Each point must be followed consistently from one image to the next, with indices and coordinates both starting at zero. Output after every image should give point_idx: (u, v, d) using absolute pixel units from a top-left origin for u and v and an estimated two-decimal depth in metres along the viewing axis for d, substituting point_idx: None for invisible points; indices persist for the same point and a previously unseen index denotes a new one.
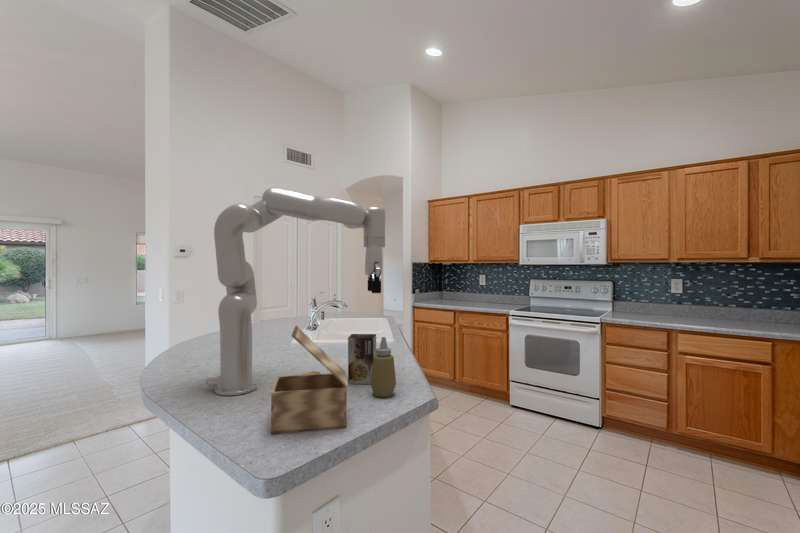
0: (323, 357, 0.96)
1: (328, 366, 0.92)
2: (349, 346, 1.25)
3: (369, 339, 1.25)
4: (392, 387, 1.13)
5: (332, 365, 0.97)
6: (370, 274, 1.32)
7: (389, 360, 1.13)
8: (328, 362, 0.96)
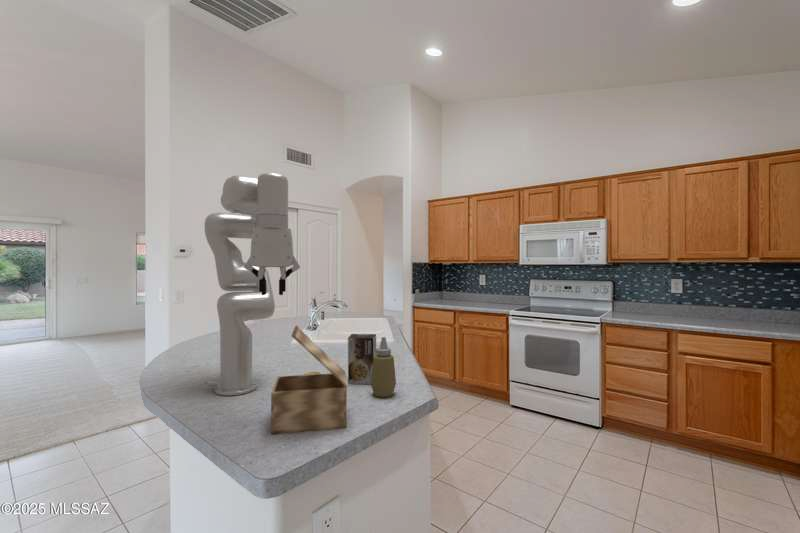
0: (323, 357, 0.96)
1: (328, 366, 0.92)
2: (349, 346, 1.25)
3: (369, 339, 1.25)
4: (392, 387, 1.13)
5: (332, 365, 0.97)
6: (264, 268, 0.93)
7: (389, 360, 1.13)
8: (328, 362, 0.96)
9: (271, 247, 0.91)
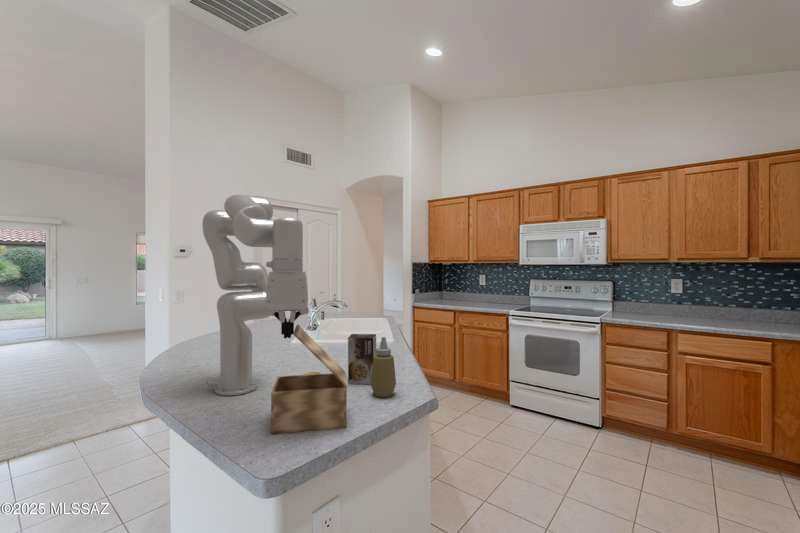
0: (324, 356, 0.96)
1: (329, 365, 0.92)
2: (349, 346, 1.25)
3: (369, 339, 1.25)
4: (392, 387, 1.13)
5: (332, 365, 0.97)
6: (283, 310, 0.94)
7: (389, 360, 1.13)
8: (329, 361, 0.96)
9: (286, 291, 0.92)
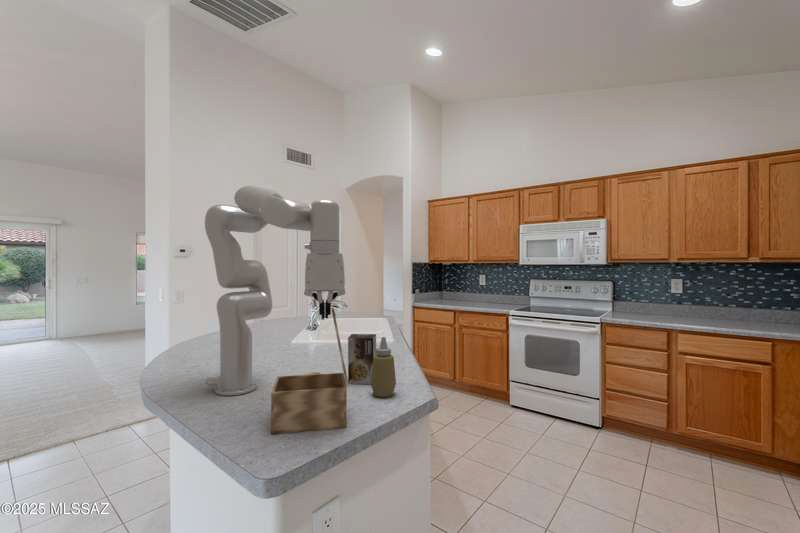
0: None
1: (343, 359, 0.93)
2: (349, 346, 1.25)
3: (369, 339, 1.24)
4: (392, 387, 1.13)
5: None
6: None
7: (389, 360, 1.13)
8: None
9: (325, 272, 0.94)
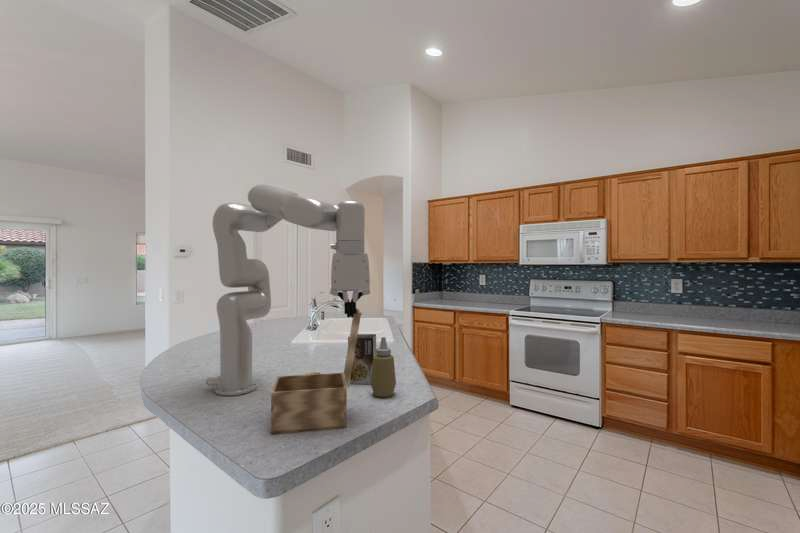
0: None
1: (353, 359, 0.93)
2: None
3: (369, 339, 1.25)
4: (392, 387, 1.13)
5: None
6: (346, 291, 0.97)
7: (389, 360, 1.13)
8: None
9: (351, 272, 0.96)
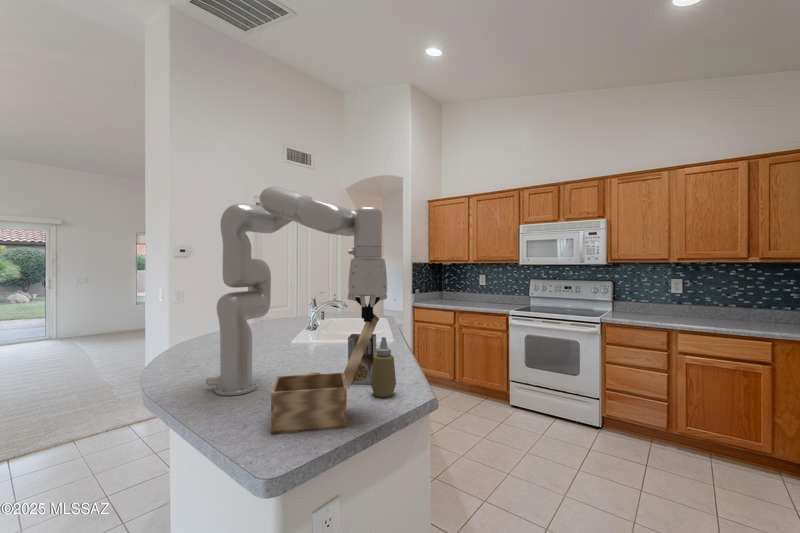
0: None
1: (359, 361, 0.94)
2: (349, 346, 1.25)
3: None
4: (392, 387, 1.13)
5: None
6: None
7: (389, 360, 1.13)
8: (357, 358, 0.98)
9: (369, 277, 0.97)
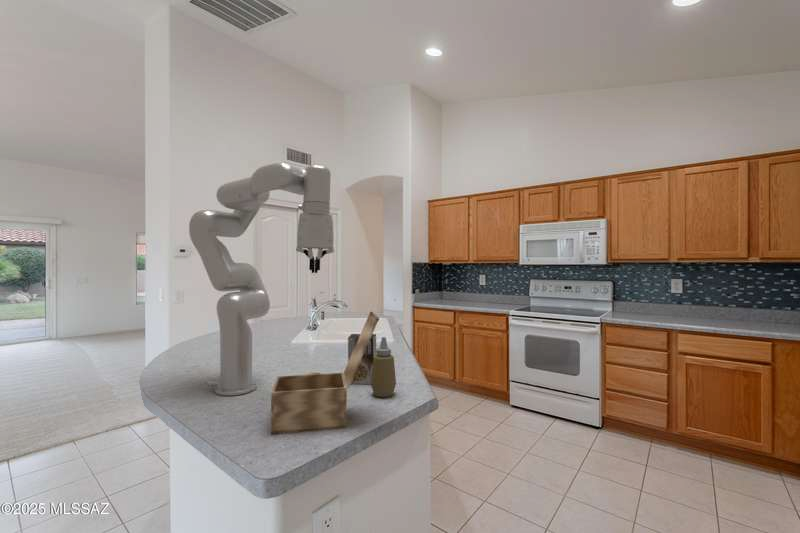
0: None
1: (359, 361, 0.94)
2: (349, 346, 1.25)
3: None
4: (392, 387, 1.13)
5: None
6: (311, 248, 1.06)
7: (389, 360, 1.13)
8: (357, 358, 0.98)
9: (315, 230, 1.04)
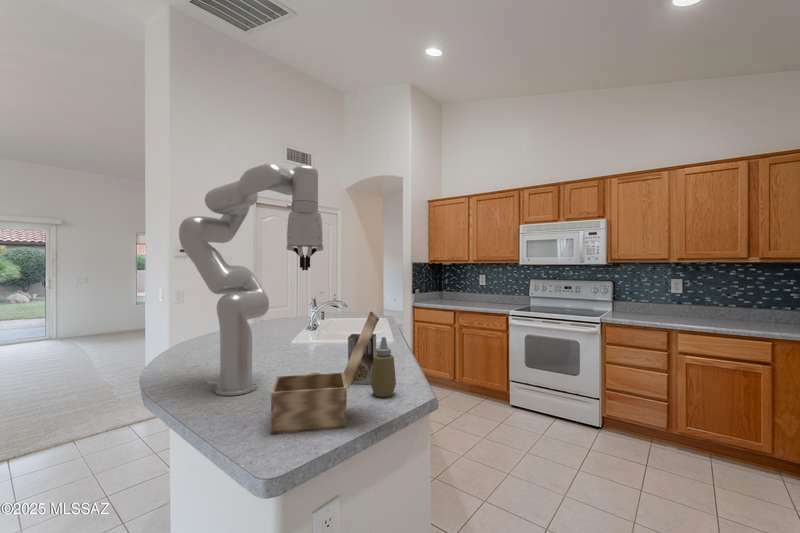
0: None
1: (359, 361, 0.94)
2: (349, 346, 1.25)
3: None
4: (392, 387, 1.13)
5: None
6: (301, 246, 1.09)
7: (389, 360, 1.13)
8: (357, 358, 0.98)
9: (304, 229, 1.07)
